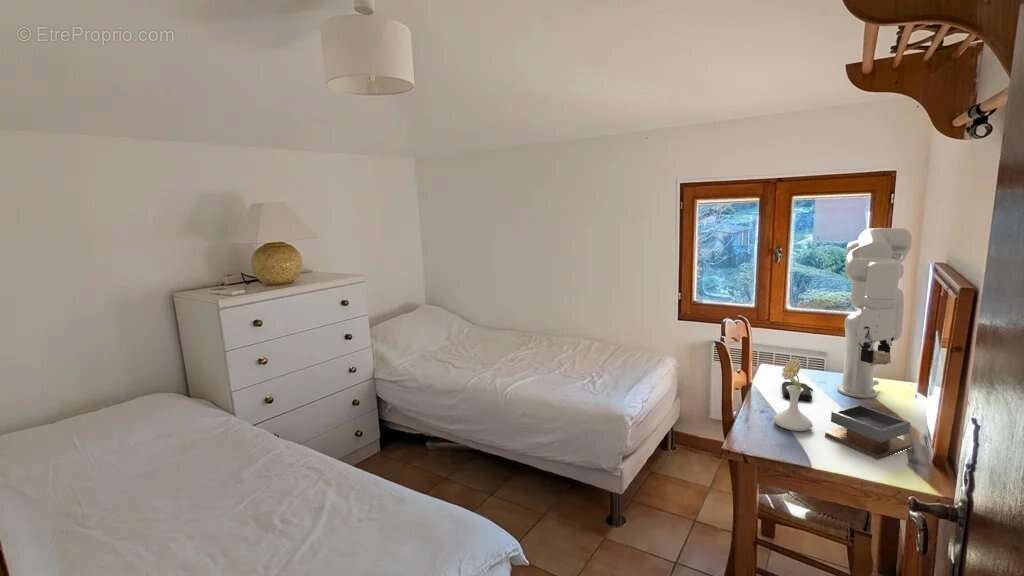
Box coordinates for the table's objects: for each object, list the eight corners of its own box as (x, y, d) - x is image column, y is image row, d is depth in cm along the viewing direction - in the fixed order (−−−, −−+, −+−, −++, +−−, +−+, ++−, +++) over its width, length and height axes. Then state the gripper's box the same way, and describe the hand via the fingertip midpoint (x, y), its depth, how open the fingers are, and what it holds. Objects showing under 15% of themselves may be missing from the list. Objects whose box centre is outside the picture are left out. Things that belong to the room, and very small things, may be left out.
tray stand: (858, 426, 159) (860, 402, 158) (912, 448, 145) (915, 422, 143) (825, 436, 154) (826, 411, 152) (877, 459, 139) (880, 432, 138)
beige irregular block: (896, 365, 139) (876, 335, 141) (871, 373, 142) (852, 343, 144) (894, 359, 146) (875, 330, 148) (871, 367, 149) (853, 338, 151)
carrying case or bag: (815, 404, 179) (811, 390, 192) (816, 396, 178) (812, 383, 191) (783, 399, 184) (781, 386, 196) (783, 392, 183) (781, 379, 196)
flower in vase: (773, 417, 169) (777, 349, 165) (811, 422, 164) (815, 353, 159) (773, 432, 158) (777, 360, 153) (813, 439, 152) (819, 365, 148)
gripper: (885, 297, 148) (880, 352, 151) (847, 304, 142) (842, 361, 145) (912, 302, 141) (906, 359, 144) (874, 308, 135) (868, 368, 138)
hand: (874, 359), depth 145 cm, fingers closed on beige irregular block, 6 cm apart
